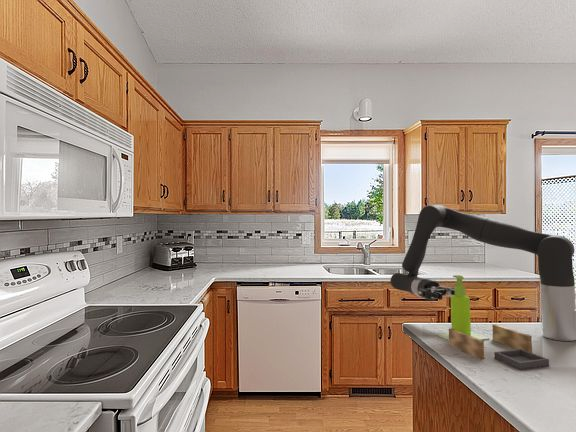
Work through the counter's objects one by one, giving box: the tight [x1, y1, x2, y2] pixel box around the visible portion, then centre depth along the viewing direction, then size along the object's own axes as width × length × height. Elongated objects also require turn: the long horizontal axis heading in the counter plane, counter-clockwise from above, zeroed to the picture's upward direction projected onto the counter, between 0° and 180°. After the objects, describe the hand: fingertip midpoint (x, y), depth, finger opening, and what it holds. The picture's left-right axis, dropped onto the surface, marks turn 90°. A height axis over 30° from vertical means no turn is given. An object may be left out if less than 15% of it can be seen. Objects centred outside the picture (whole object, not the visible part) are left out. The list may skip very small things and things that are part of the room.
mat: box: [433, 330, 490, 342], centre depth 130 cm, size 11×13×1 cm
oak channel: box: [448, 323, 533, 360], centre depth 117 cm, size 14×17×5 cm
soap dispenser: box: [450, 274, 472, 336], centre depth 130 cm, size 6×7×20 cm
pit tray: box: [494, 349, 550, 371], centre depth 106 cm, size 9×9×2 cm
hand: (452, 295), depth 133 cm, fingers open, 8 cm apart
